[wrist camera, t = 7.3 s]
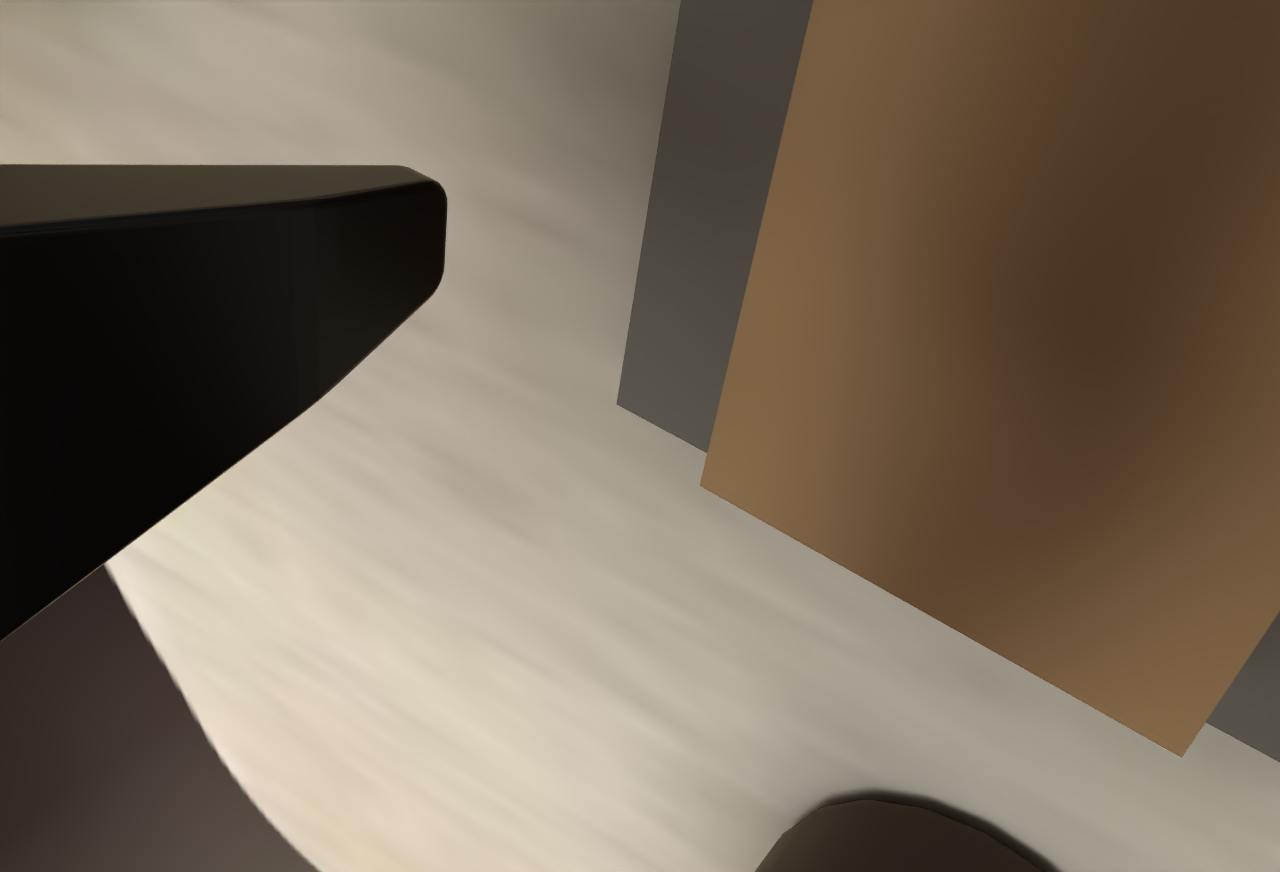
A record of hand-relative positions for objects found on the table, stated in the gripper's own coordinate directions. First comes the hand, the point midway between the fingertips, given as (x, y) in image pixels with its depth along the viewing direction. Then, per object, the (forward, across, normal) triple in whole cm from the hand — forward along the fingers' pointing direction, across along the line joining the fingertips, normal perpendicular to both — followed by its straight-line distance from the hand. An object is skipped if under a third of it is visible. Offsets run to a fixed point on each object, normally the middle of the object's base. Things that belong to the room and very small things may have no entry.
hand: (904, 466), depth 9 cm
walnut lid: (+6, 0, 0) cm, 6 cm away
